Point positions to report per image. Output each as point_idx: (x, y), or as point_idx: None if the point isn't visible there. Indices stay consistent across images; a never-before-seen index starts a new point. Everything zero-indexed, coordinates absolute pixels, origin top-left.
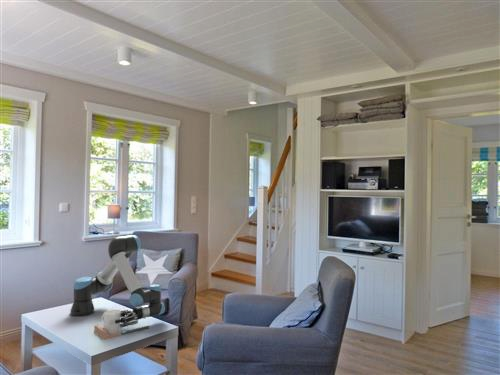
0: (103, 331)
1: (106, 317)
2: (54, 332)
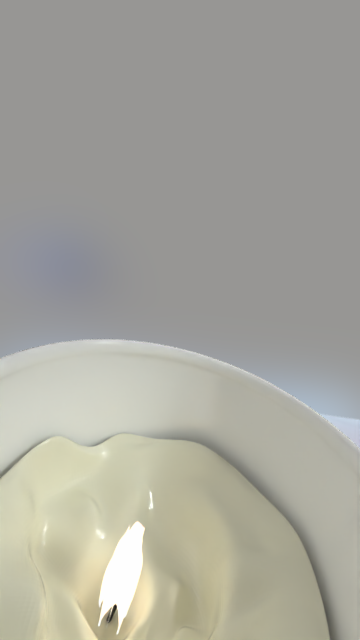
0: None
1: (121, 380)
2: (334, 416)
